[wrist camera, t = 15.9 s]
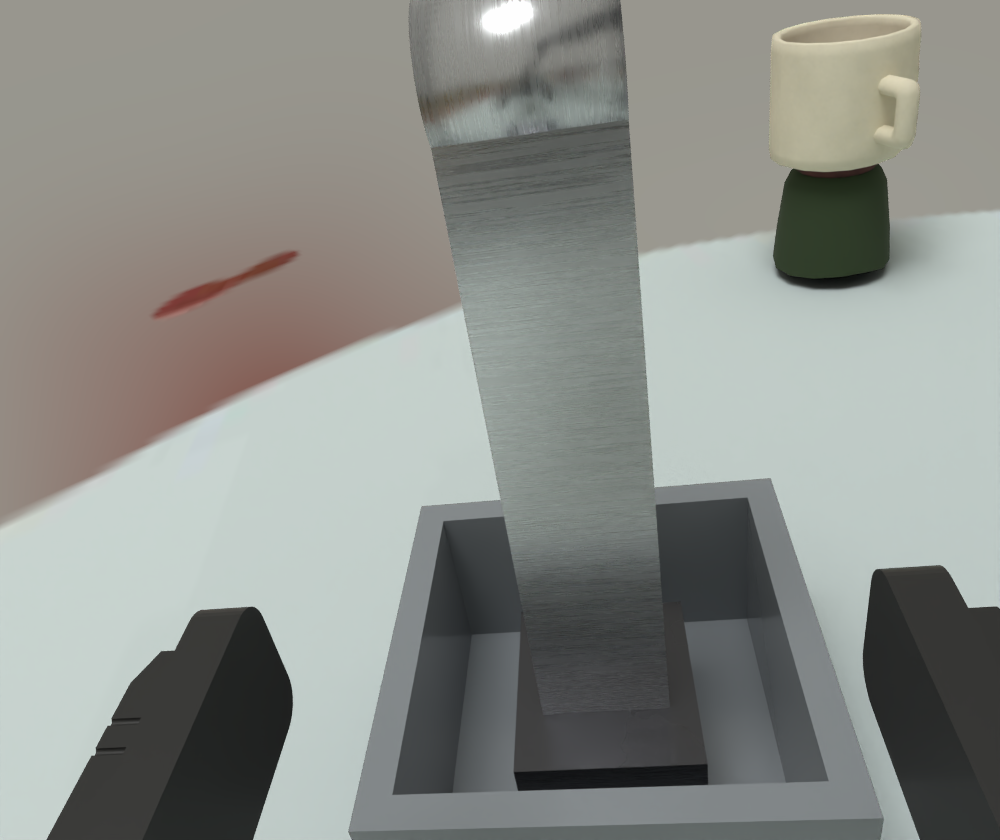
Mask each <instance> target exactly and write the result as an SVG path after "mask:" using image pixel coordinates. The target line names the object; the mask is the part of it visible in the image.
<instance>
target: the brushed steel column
mask: <svg viewBox="0 0 1000 840" xmlns="http://www.w3.org/2000/svg"><path fill="white" fill-rule="evenodd" d="M409 38H410V50H411V59H412V67H413V74H414V79H415V86H416V91H417V96H418V102H419V107H420V111H421V116H422V120H423V123H424V127H425V131H426V134H427V138H428V141H429V144H430V146H431V150H432V155H433V160H434V165H435V170H436V175H437V180H438V185H439V190H440V195H441V201H442V205H443V211H444V216H445V221H446V226H447V230H448V236H449V241H450V245H451V251H452V256H453V261H454V266H455V271H456V276H457V281H458V287H459V291H460V296H461V302H462V307H463V312H464V317H465V322H466V327H467V332H468V337H469V342H470V347H471V352H472V357H473V362H474V367H475V372H476V378H477V383H478V388H479V393H480V398H481V403H482V408H483V413H484V418H485V423H486V428H487V433H488V438H489V443H490V448H491V453H492V458H493V463H494V468H495V474H496V479H497V484H498V489H499V494H500V499H501V504H502V509H503V514H504V519H505V524H506V529H507V534H508V539H509V544H510V549H511V554H512V559H513V565H514V570H515V575H516V580H517V585H518V590H519V595H520V600H521V605H522V610H523V612H521V630H520V650H519V670H518V690H517V710H516V730H515V750H514V770H513V772H514V777H515V781H516V785H517V789H518V791H534V790H566V789H598V788H630V787H662V786H694V785H708V763H707V757H706V751H705V745H704V739H703V733H702V727H701V721H700V715H699V709H698V703H697V697H696V691H695V685H694V679H693V673H692V667H691V661H690V655H689V649H688V643H687V637H686V631H685V625H684V619H683V613H682V607H681V601H680V602H666V603H662V590H661V576H660V562H659V547H658V533H657V519H656V505H655V490H654V476H653V462H652V447H651V433H650V419H649V404H648V390H647V376H646V361H645V347H644V333H643V319H642V304H641V290H640V276H639V261H638V247H637V233H636V218H635V204H634V190H633V176H632V162H631V147H630V134H629V117H628V92H627V76H626V61H625V48H624V36H623V26H622V14H621V4H620V0H411V1H410V6H409Z"/></svg>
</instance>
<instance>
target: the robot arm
mask: <svg viewBox="0 0 1000 840" xmlns="http://www.w3.org/2000/svg"><path fill="white" fill-rule="evenodd" d="M863 669H864V677H865V683H866V688H867V692H868V696H869V700H870V703H871V706H872V709H873V711H874V714H875V717H876V720H877V722H878V725H879V728H880V731H881V733H882V736H883V739H884V742H885V744H886V747H887V750H888V753H889V755H890V758H891V761H892V764H893V766H894V769H895V772H896V775H897V777H898V780H899V783H900V786H901V788H902V791H903V794H904V797H905V799H906V802H907V805H908V808H909V811H910V813H911V816H912V819H913V822H914V824H915V827H916V830H917V833H918V835H919V838H920V840H1000V609H999V608H998V607H979V608H968V607H967V605H966V603H965V601H964V599H963V598H962V596H961V594H960V592H959V590H958V588H957V586H956V585H955V583H954V581H953V579H952V577H951V576H950V574H949V572H948V571H947V570H946V569H945V568H944V567H943V566H940V565H936V566H920V567H904V568H889V569H876V570H875V571H874V573H873V575H872V580H871V588H870V596H869V605H868V613H867V622H866V630H865V639H864V648H863ZM292 708H293V696H292V687H291V683H290V679H289V677H288V674H287V672H286V670H285V667H284V665H283V663H282V660H281V658H280V656H279V653H278V651H277V649H276V646H275V644H274V642H273V639H272V637H271V635H270V632H269V630H268V628H267V626H266V623H265V621H264V619H263V616H262V615H261V613H260V611H259V610H258V609H256V608H255V607H241V608H225V609H210V610H200V611H198V612H197V613H195V614H194V616H193V617H192V618H191V620H190V621H189V623H188V625H187V627H186V629H185V631H184V633H183V635H182V637H181V639H180V641H179V643H178V645H177V647H176V649H175V651H161V652H160V653H159V654H158V655H157V656H156V657H155V658H154V659H153V661H152V662H151V663H150V664H149V665H148V666H147V667H146V668H145V669H144V670H143V671H142V672H141V673H140V674H139V675H138V676H137V677H136V678H135V679H134V680H133V681H132V682H131V683H130V685H129V687H128V689H127V691H126V693H125V694H124V696H123V698H122V700H121V702H120V704H119V706H118V707H117V709H116V711H115V713H114V715H113V717H112V724H111V726H107V728H106V730H105V732H104V734H103V735H102V737H101V739H100V741H99V743H98V745H97V747H96V754H95V756H91V758H90V760H89V761H88V763H87V765H86V767H85V769H84V771H83V773H82V775H81V776H80V778H79V780H78V782H77V784H76V786H75V788H74V789H73V791H72V793H71V795H70V797H69V799H68V801H67V802H66V804H65V806H64V808H63V810H62V812H61V814H60V816H59V817H58V819H57V821H56V823H55V825H54V827H53V829H52V830H51V832H50V834H49V836H48V838H47V840H253V837H254V834H255V831H256V828H257V825H258V822H259V819H260V816H261V813H262V810H263V807H264V804H265V800H266V797H267V794H268V791H269V788H270V785H271V782H272V779H273V776H274V773H275V770H276V767H277V763H278V760H279V757H280V754H281V751H282V748H283V745H284V742H285V739H286V736H287V733H288V730H289V726H290V722H291V717H292Z"/></svg>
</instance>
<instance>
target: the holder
mask: <svg viewBox="0 0 1000 840" xmlns="http://www.w3.org/2000/svg"><path fill="white" fill-rule="evenodd" d="M654 490H655V505H656V519H657V533H658V547H659V562H660V576H661V590H662V603H666V602H680V601H681V607H682V613H683V619H684V625H685V631H686V637H687V643H688V649H689V655H690V661H691V667H692V673H693V679H694V685H695V691H696V697H697V703H698V709H699V715H700V721H701V727H702V733H703V739H704V745H705V751H706V757H707V763H708V785H694V786H662V787H630V788H598V789H566V790H534V791H518V789H517V785H516V781H515V777H514V772H513V770H514V750H515V730H516V710H517V690H518V670H519V650H520V630H521V612H523V610H522V605H521V600H520V595H519V590H518V585H517V580H516V575H515V570H514V565H513V559H512V554H511V549H510V544H509V539H508V534H507V529H506V524H505V519H504V514H503V509H502V504H501V500H494V501H482V502H470V503H457V504H445V505H432V506H422V507H421V511H420V515H419V520H418V524H417V529H416V533H415V538H414V542H413V547H412V551H411V555H410V560H409V564H408V569H407V573H406V578H405V582H404V587H403V591H402V595H401V600H400V604H399V609H398V613H397V618H396V622H395V627H394V631H393V635H392V640H391V644H390V649H389V653H388V658H387V662H386V667H385V671H384V675H383V680H382V684H381V689H380V693H379V698H378V702H377V707H376V711H375V715H374V720H373V724H372V729H371V733H370V738H369V742H368V747H367V751H366V755H365V760H364V764H363V769H362V773H361V778H360V782H359V787H358V791H357V795H356V800H355V804H354V809H353V813H352V818H351V822H350V827H349V831H348V832H349V834H350V837H351V839H352V840H880V837H881V831H882V825H883V819H884V818H883V815H882V812H881V809H880V806H879V803H878V800H877V797H876V794H875V791H874V788H873V785H872V782H871V779H870V776H869V773H868V770H867V767H866V764H865V761H864V758H863V755H862V752H861V749H860V746H859V743H858V740H857V737H856V734H855V731H854V728H853V725H852V722H851V719H850V716H849V713H848V710H847V707H846V704H845V701H844V698H843V695H842V692H841V689H840V686H839V683H838V680H837V677H836V674H835V671H834V668H833V665H832V662H831V659H830V656H829V653H828V650H827V647H826V644H825V641H824V638H823V635H822V632H821V629H820V626H819V623H818V620H817V617H816V614H815V611H814V608H813V605H812V602H811V599H810V596H809V593H808V590H807V587H806V584H805V581H804V578H803V575H802V572H801V569H800V566H799V563H798V560H797V557H796V554H795V551H794V548H793V545H792V542H791V538H790V535H789V532H788V529H787V526H786V523H785V520H784V517H783V514H782V511H781V508H780V505H779V502H778V499H777V496H776V493H775V490H774V487H773V484H772V481H771V478H767V479H755V480H743V481H730V482H718V483H705V484H693V485H681V486H668V487H656V488H654Z"/></svg>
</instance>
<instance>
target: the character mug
mask: <svg viewBox="0 0 1000 840" xmlns="http://www.w3.org/2000/svg"><path fill="white" fill-rule="evenodd" d="M920 43H921V22H920V20H919V19H917V18H915V17H911V16H906V15H884V14H879V15H878V14H876V15H860V16H848V17H840V18H831V19H824V20H819V21H813V22H808V23H802V24H799V25H796V26H792V27H789V28H785V29H783V30H781V31H779V32H777V33H775V34H774V35H773V37H772V46H771V77H770V79H771V81H770V127H769V128H770V130H769V151H770V158H771V159H772V160H773V161H775V162H776V163H777V164H779V165H781V166H785V167H789V168H793V169H792V170H791V172H790V174H789V176H788V177H787V179H786V181H785V184H784V189H783V195H782V200H781V206H780V212H779V217H778V223H777V229H776V237H775V245H774V253H773V258H774V261H775V265H776V268H778V269H779V270H781V271H783V272H785V273H786V274H788V275H790V276H796V277H804V278H812V279H816V278H831V277H847V276H849V275H854V274H860V273H865V272H870V271H874V270H878V269H883V268H884V266H885V265H886V263H887V262H888V260H889V240H890V224H889V208H888V189H887V178H886V176H885V174H884V172H883V169H882V167H881V166H880V165H879V164H878V163H881V162H883V161H886V160H889V159H891V158H894V157H895V156H896V155H897V154H898V153H899V152H900V151H901V150H903V149H908V148H909V147H910V146H911V145H912V143H913V141H914V138H915V135H916V126H917V117H918V107H919V99H920V88H919V84H918V83H917V81H918V74H919V52H920Z"/></svg>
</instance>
